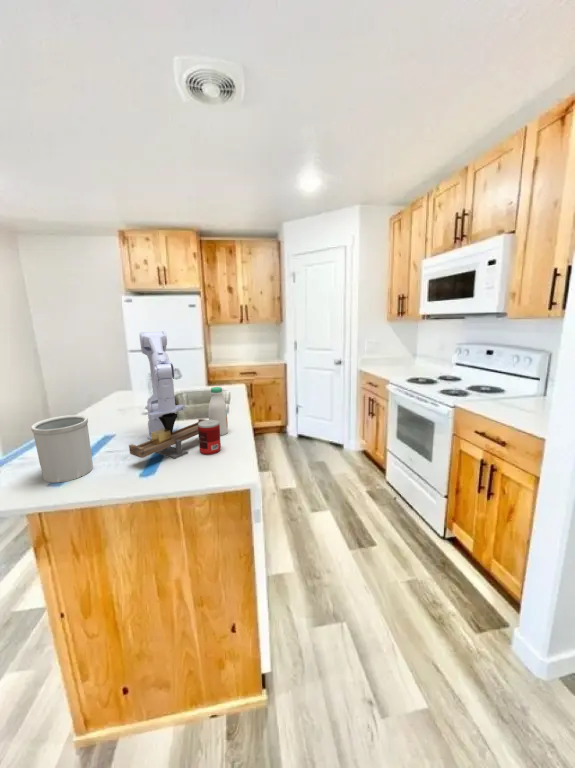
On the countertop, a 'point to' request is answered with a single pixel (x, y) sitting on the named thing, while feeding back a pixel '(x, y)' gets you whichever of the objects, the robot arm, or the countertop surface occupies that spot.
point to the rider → (160, 436)
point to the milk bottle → (218, 409)
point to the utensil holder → (63, 447)
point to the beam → (151, 448)
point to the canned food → (209, 436)
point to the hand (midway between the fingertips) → (169, 433)
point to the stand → (173, 451)
